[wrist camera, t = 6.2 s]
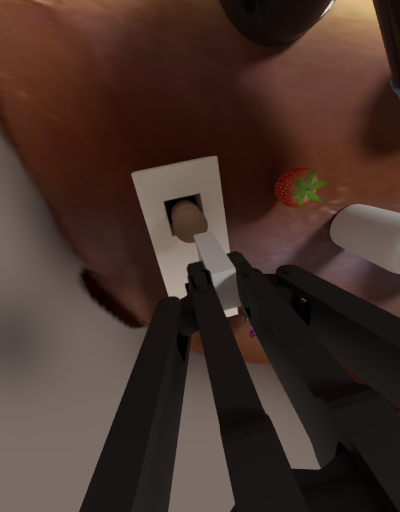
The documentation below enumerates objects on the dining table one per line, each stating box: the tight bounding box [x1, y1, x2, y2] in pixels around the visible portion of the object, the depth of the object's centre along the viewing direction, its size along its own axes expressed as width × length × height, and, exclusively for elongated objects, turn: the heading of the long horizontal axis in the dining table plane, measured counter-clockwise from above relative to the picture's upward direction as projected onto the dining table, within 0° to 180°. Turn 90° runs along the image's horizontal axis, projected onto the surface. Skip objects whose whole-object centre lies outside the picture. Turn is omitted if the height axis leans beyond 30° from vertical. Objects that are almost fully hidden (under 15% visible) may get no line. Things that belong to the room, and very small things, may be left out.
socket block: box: [131, 156, 238, 317], centre depth 32 cm, size 24×10×6 cm, turn 10°
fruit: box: [274, 168, 328, 207], centre depth 30 cm, size 5×5×8 cm
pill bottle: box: [330, 204, 400, 274], centre depth 32 cm, size 8×8×15 cm
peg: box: [171, 200, 208, 243], centre depth 25 cm, size 4×4×6 cm
